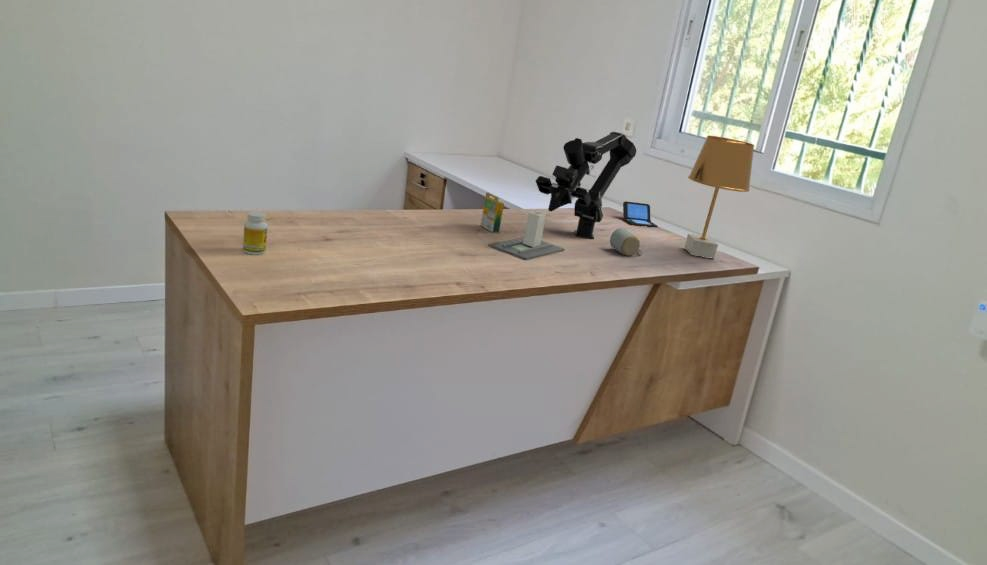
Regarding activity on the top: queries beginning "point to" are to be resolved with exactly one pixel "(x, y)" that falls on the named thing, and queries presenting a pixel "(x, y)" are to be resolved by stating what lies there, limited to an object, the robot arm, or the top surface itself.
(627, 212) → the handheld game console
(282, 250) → the top surface
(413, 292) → the top surface
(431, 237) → the top surface
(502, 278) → the top surface
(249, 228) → the supplement bottle
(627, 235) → the ceramic mug
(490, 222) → the crayon box
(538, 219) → the fader knob
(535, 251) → the fader console
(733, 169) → the lamp
